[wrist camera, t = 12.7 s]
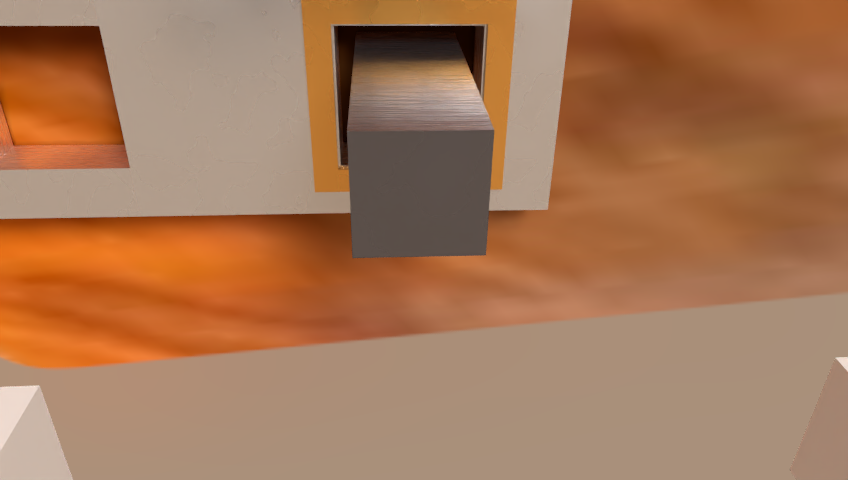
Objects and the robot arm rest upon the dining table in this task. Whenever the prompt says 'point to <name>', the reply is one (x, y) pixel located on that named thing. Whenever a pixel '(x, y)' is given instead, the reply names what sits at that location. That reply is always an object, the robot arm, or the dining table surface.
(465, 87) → the steel peg
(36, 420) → the robot arm
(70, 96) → the dining table surface
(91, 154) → the grey peg hole board
